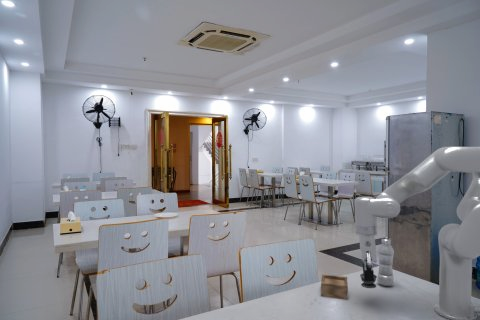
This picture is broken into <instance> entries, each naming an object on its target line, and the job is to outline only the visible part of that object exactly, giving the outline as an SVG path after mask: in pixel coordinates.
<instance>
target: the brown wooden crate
mask: <svg viewBox="0 0 480 320" xmlns="http://www.w3.org/2000/svg"><path fill="white" fill-rule="evenodd" d="M348 287H349V286H348V277H347V276H340V275H332V274H326V273H325V274H322V275H321V282H320V297H324V298H325V297H326V298H333V299H340V300H345V301H346V300H348V299H349V298H348V297H349V296H348V294H349V293H348V292H349V291H348V289H349V288H348Z"/></svg>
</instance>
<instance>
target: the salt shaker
mask: <svg viewBox="0 0 480 320" xmlns="http://www.w3.org/2000/svg"><path fill="white" fill-rule="evenodd" d="M365 261H367V260H365ZM366 265H367V263H366ZM363 267H364V270H365V265H363V264H362V268H363ZM359 277H360V279H361V281H362V283H361V287H362V288H366V289H375V288H377V285H376V283H375V282H376V280H377V277H378V275H376V274H374V281H365V280H364V273H363V272H362V273H361V274H360V275H359Z"/></svg>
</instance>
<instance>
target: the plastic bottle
mask: <svg viewBox="0 0 480 320" xmlns="http://www.w3.org/2000/svg"><path fill="white" fill-rule="evenodd" d="M380 241H381V244H380V245H379V247H378V250H377V252H378V253H377V254H378V273H377V278H376V280H377V282H378V284H379V285H380V286H383V287H391V286H393V284H394V282H395V281H394V273H393V272H394V271H393V261H394V255H395V251H394V248H393V246H392V245H391V244H392V242H391V241H392V239H391V238H388V237H381V240H380Z"/></svg>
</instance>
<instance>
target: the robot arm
mask: <svg viewBox="0 0 480 320" xmlns="http://www.w3.org/2000/svg"><path fill="white" fill-rule="evenodd" d="M451 172H452V173H472V180H471V183H470V185H469V187H468V189H467V190H466V192H465V194H464V196H463V197H462V199H461V200H460V202H459V203H458V206H457V208H456V217H458V219H459V220H460V221H461V223H459V224H458V223H447V224H445V225H444V226H442V227H441V229H440V230H439V231H438V238H437V239H438V240H437V241H438V251H439V280H438V281H439V282H438V283H439V285H438V286H439V287H438V288H439V289H438V302H436V303H435V304H434V305H433V310H434V311H435V312H436V314H438V315H440V316H441V317H443V318H445V319H448V320H477V314H478V313H479V314H480V304H474V303H472V283H473V281H472V280H473V279H472V278H473V277H472V276H473V274H472V273H473V263H472V262H473V260H474V259H477V258H478V257H480V146H442V147H440V148H438V149H436V150H435V151H434V152H432V153H431V154H430V155H429V156H427V157H426V158H425V159H424V160H423V161H421V162H420V163H419V164H418V165H417V166H415V167H414V168H413V169H412V170H410V171H409V172H408V173H405V175H403V176H402V177H400V178H398V180H396V181H395V182H393V183H392V184H391V185H389V186H388V187H387V188H386V189H384V190H383V191H382V192H380V193H379V194H378V195H377V196H376V197H375V198H374V197H372V196H357V197H356V198H355V199H354V216H355V217H354V219H355V220H354V221H355V234H356V235H357V236H358V237H359V238H358V239H359V248H360V249H359V250H360V251H359V252H360V256H361V261H362V274H363V273H364V280H365V281H374V275H375V274H374V273H375V272H374V265H373V263H374V264H376V263H377V251H376V250H377V249H376V237H375V236H377V235H378V220H377V218H385V219H392V218H395V217H397V216H398V215H399V214H400V213H401V205H400V204H401V203H403V202H404V201H405V200H407V199H408V198H410V197H412V196H414V195H417V194H421V193H424V192H425V191H428V190H430V189H431V188H432V187H433V186H435V185H436V184H437V183H439V181H441V180H442V179H443V178H445V177H446V176H447V175H449V173H451ZM365 260H367V261H365ZM366 263H367V265H366ZM363 265H365V270H364V267H363Z"/></svg>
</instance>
